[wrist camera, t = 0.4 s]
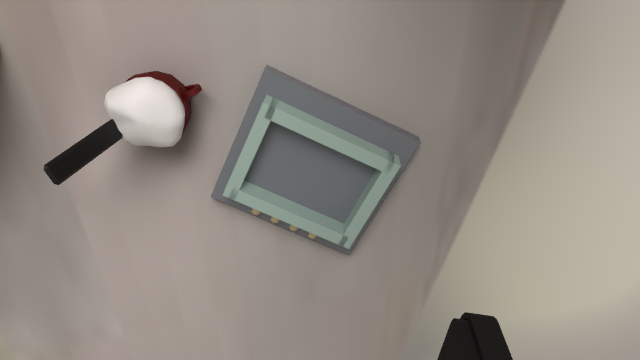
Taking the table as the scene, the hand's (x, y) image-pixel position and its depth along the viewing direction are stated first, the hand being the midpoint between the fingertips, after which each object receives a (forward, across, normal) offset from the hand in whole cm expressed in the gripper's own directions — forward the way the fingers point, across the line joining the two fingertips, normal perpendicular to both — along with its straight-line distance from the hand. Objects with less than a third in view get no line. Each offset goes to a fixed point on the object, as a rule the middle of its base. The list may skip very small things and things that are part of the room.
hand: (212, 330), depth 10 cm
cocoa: (+35, +13, +8) cm, 38 cm away
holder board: (+35, -2, +13) cm, 37 cm away
